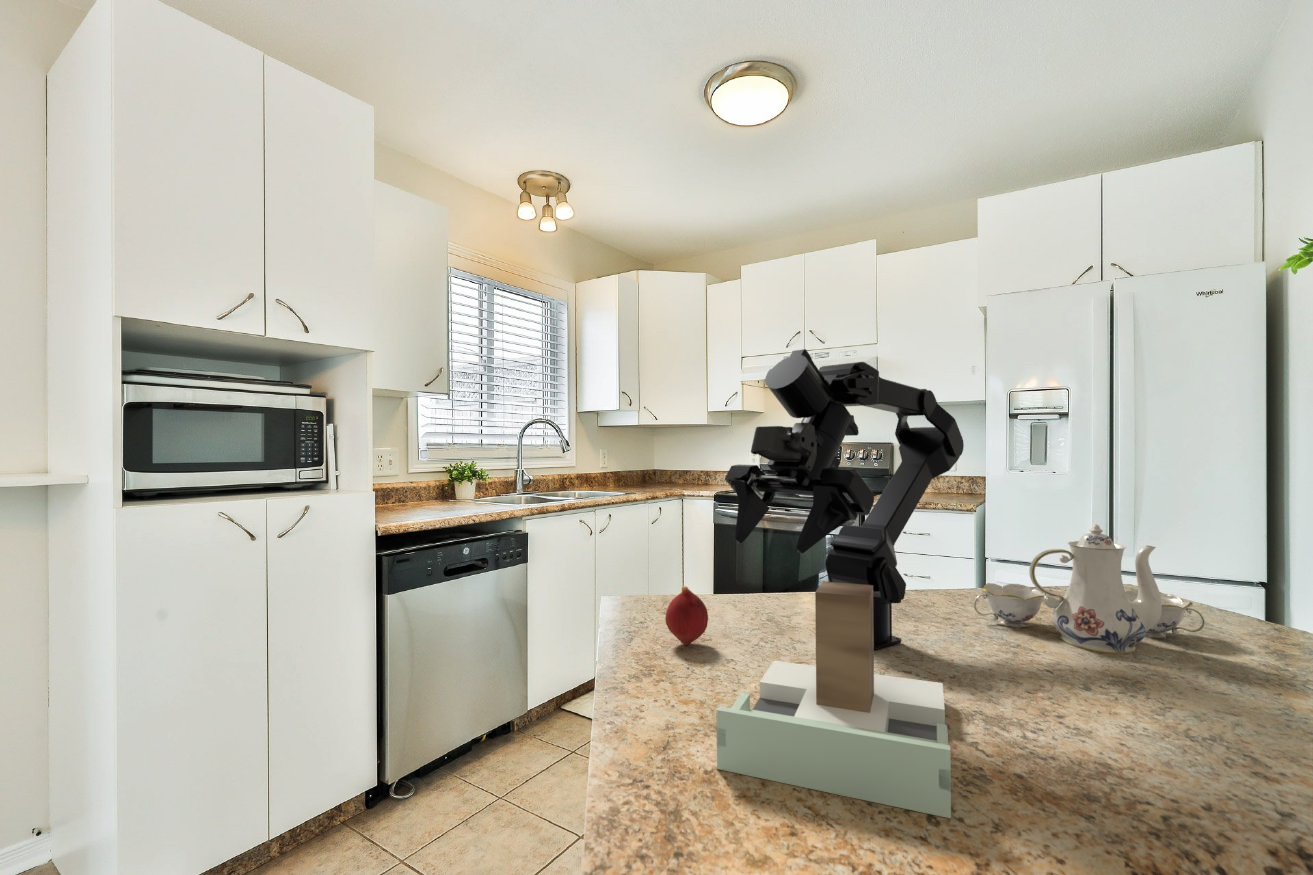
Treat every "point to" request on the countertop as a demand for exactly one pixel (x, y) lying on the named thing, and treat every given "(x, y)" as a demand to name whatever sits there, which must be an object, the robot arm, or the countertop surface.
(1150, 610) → the chinaware
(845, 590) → the walnut block
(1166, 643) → the countertop surface
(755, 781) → the countertop surface
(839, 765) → the box
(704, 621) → the onion
